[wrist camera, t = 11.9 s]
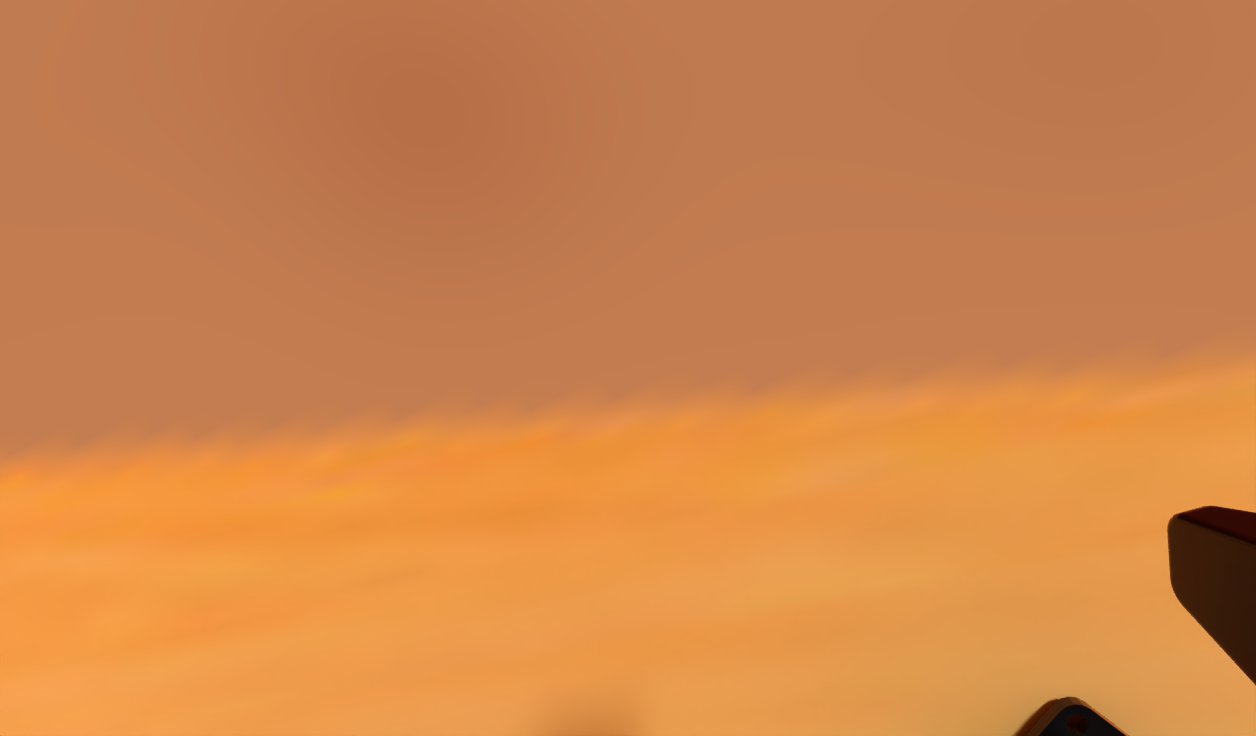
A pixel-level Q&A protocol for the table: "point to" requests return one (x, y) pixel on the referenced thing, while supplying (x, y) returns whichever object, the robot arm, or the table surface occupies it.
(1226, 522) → the robot arm
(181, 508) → the table surface
